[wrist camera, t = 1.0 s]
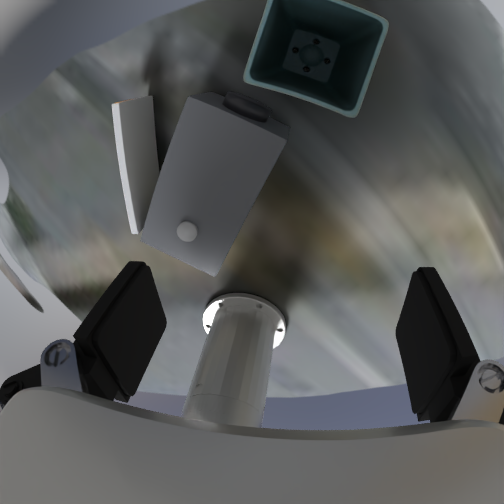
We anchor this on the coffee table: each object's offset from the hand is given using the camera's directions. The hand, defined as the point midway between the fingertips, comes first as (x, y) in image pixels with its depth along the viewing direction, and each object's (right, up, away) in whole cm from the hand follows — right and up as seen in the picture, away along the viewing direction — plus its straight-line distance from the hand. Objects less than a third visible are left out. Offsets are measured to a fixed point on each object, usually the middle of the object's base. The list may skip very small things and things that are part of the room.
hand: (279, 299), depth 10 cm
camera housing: (-4, +11, +22) cm, 25 cm away
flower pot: (+5, +21, +14) cm, 26 cm away
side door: (-13, +13, +22) cm, 28 cm away
